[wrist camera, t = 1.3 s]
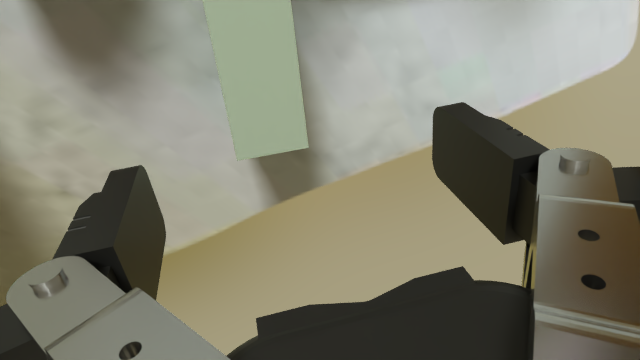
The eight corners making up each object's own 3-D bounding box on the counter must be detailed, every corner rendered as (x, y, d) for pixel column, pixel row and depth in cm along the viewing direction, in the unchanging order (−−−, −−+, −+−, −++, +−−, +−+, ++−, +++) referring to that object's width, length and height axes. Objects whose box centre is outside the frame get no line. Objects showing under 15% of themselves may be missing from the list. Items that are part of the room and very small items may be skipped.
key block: (231, 107, 31) (237, 160, 24) (202, -30, 27) (198, -20, 19) (285, 98, 32) (308, 147, 24) (266, -38, 27) (287, -31, 20)
